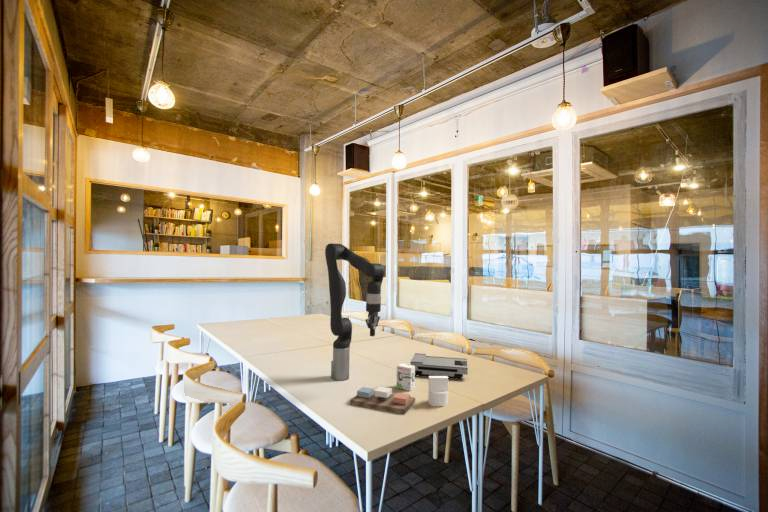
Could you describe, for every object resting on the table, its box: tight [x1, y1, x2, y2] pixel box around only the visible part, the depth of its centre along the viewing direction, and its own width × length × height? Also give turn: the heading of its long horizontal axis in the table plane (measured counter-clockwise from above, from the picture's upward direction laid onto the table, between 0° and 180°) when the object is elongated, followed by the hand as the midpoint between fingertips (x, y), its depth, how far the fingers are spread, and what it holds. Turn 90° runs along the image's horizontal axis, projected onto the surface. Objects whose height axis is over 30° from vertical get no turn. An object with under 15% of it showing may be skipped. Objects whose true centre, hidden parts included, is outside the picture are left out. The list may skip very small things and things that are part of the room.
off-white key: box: [374, 386, 393, 398], centre depth 165 cm, size 6×6×2 cm
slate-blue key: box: [356, 386, 375, 398], centre depth 169 cm, size 6×6×2 cm
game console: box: [409, 352, 469, 379], centre depth 213 cm, size 21×32×8 cm, turn 78°
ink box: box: [396, 362, 416, 392], centre depth 185 cm, size 9×5×12 cm, turn 58°
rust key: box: [393, 392, 411, 405], centre depth 162 cm, size 6×6×2 cm
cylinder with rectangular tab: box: [427, 376, 449, 407], centre depth 167 cm, size 9×9×12 cm
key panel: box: [350, 390, 416, 415], centre depth 165 cm, size 26×15×4 cm, turn 68°
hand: (372, 336), depth 184 cm, fingers closed
